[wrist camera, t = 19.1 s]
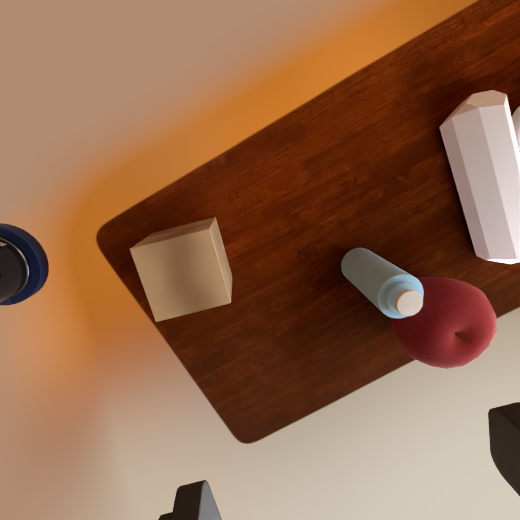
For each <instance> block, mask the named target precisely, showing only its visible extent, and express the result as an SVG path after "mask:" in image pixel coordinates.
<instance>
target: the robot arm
mask: <svg viewBox="0 0 520 520" xmlns="http://www.w3.org/2000/svg"><path fill="white" fill-rule="evenodd" d="M30 277H31V267H30V263H29V260H28V258H27V256H26V254H25V253H24V252H23V250H22V249H21V248H20V247H19V246H18V245H17V244H15V243H14V242H12V241H11V240H9V239H7V238H4V237H1V236H0V302H2V301H4V300H6V299H8V298H10V297H13V296H15V295H16V294H18V293H20V292H21V291H23V290H24V289H25V287H26V286H27V285H28V283H29V280H30ZM488 418H489V434H490V450H491V455H492V458H493V461H494V463H495V465H496V467H497V468H498V470H499V472H500V473H501V475H502V476H503V477H504V479H505V480H506V481H507V482H508V483H509V484H510V485H511V487H512V488H513V489H514V490H515V491H516V492H517V493H518V495H519V496H520V403H518V402H517V403H512V404H509V405H505V406H501V407H496V408H493V409H490V410H489V413H488ZM158 520H222V519H221V516H220V513H219V511H218V508H217V505H216V502H215V500H214V497H213V494H212V492H211V489H210V486H209V484H208V482H207V481H206V480H203V481H199V482H195V483H191V484H187V485H183V486H180V487H179V488H178V490H177V492H176V497H175V502H174V507H173V512H172V513H167V514H164V515H161V516H160V518H159V519H158Z"/></svg>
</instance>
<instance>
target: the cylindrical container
mask: <svg viewBox="0 0 520 520" xmlns="http://www.w3.org/2000/svg"><path fill="white" fill-rule="evenodd" d="M512 121H513V126H514V130H515V135H516V139H517V143H518V148H519V151H520V106H519V107H518V108H517V109H516V111H515V112H514V114H513V116H512Z"/></svg>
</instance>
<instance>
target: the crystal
mask: <svg viewBox="0 0 520 520" xmlns="http://www.w3.org/2000/svg"><path fill="white" fill-rule="evenodd" d="M439 128H440V131H441V135H442V138H443V142H444V145H445V149H446V152H447V156H448V159H449V163H450V166H451V170H452V173H453V177H454V180H455V183H456V187H457V190H458V194H459V197H460V201H461V204H462V208H463V211H464V215H465V218H466V222H467V225H468V229H469V232H470V236H471V239H472V243H473V246H474V250H475V253H476V256H478V257H480V258H483V259H485V260H489V261H495V262H501V263H508V264H513V263H517V262H520V152H519V148H518V143H517V139H516V135H515V130H514V126H513V121H512V117H511V112H510V108H509V104H508V99H507V95H506V94H504V93H501V92H497V91H494V90H490V91H485V92H480V93H475V94H472V95H471V96H470V97H468V98H467V99H466V100H464V101H463V102H462V103H461V104H460V105H459V106H458V107H457V108H456V109H455V110H454V111H453V112H452V113H451V114H450V115H449V116H448V118H447V119H446V120H445V121H444V122H443V124H442V125H441V126H440V127H439Z"/></svg>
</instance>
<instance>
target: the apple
mask: <svg viewBox="0 0 520 520" xmlns="http://www.w3.org/2000/svg"><path fill="white" fill-rule="evenodd" d="M417 279H418V280H419V281H420V283H421V284H422V287H423V291H424V295H423V305H422V308H421V309H420V311H419V312H418V313H416V314H415V315H412V316H407V317H404V318H391V317H390V319H391V324H392V329H393V331H394V332H395V334H396V336H397V338H398V339H399V341H400V343H401V344H402V346H403V348H404V350H405V351H406V353H407V355H409V356H411V357H413V358H414V359H416V360H418V361H420V362H422V363H425V364H428V365H431V366H435V367H441V368H453V367H459V366H463V365H465V364H467V363H468V362H470V361H472V360H473V359H475V358H477V357H478V356H479V355H480V354H481V353H482V352H483V351H484V350H485V349H486V348H487V347H488V346H489V344H490V342H491V340H492V338H493V336H494V334H495V332H496V315H495V312H494V310H493V308H492V306H491V304H490V302H489V301H488V299H487V298H486V296H485V294H484V293H483V291H481V290H479V289H478V288H476V287H474V286H472V285H471V284H469V283H466V282H462V281H459V280H455V279H451V278H445V277H438V276H428V277H417Z"/></svg>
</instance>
